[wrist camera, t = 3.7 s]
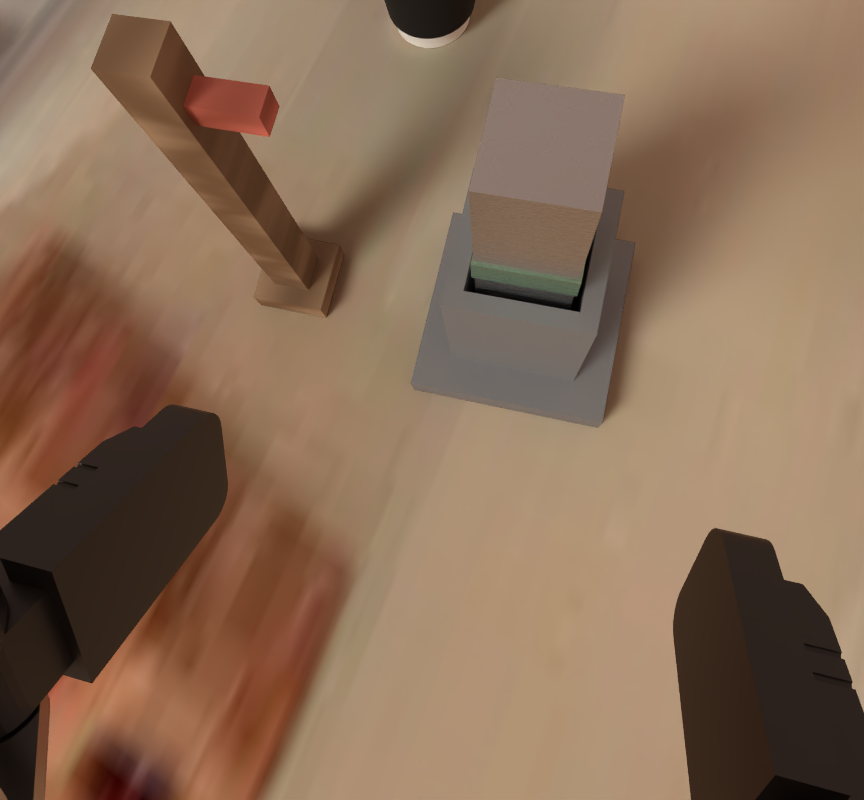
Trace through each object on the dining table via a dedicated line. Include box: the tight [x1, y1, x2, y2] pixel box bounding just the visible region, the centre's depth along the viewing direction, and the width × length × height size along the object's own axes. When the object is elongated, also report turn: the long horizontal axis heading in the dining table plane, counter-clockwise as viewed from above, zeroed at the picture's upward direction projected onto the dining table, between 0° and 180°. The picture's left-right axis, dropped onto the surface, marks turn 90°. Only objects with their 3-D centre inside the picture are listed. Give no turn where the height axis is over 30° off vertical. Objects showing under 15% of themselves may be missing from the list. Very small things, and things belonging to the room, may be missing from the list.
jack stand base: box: [411, 168, 635, 428], centre depth 30 cm, size 10×10×9 cm
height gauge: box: [91, 14, 344, 317], centre depth 28 cm, size 6×4×18 cm
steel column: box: [468, 78, 625, 310], centre depth 26 cm, size 4×4×14 cm
